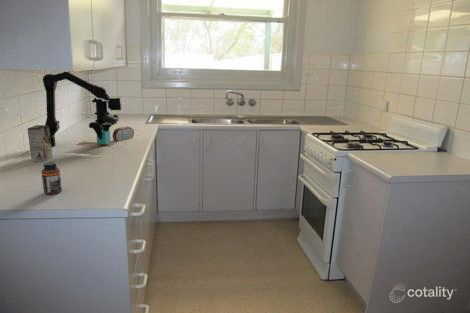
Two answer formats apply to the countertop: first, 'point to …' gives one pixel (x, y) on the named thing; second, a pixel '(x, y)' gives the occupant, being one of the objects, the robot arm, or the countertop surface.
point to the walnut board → (95, 144)
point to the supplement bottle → (51, 178)
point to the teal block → (104, 138)
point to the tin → (123, 133)
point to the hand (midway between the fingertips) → (103, 138)
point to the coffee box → (40, 142)
